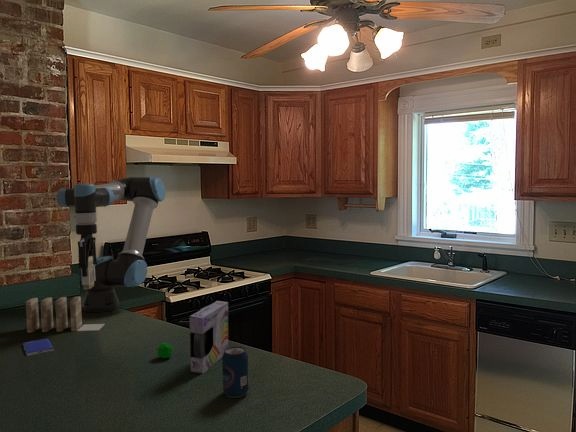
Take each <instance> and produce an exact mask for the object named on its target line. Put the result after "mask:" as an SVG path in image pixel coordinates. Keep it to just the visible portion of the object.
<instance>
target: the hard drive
mask: <svg viewBox="0 0 576 432" xmlns="http://www.w3.org/2000/svg"><path fill="white" fill-rule="evenodd" d="M51 343H52V342H51V341H50V340H49V338H43V339H37V340H31V341H26V342H23V343H22V346H24V347H23V349H24V352H25V351H26V352H25V354H26V356H27V357H28V356H33V355H39V354H44V352H45V353H49V351H50V352H54V351H55V350H54V347H53V345H52V344H51Z"/></svg>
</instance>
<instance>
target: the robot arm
mask: <svg viewBox="0 0 576 432" xmlns="http://www.w3.org/2000/svg"><path fill="white" fill-rule="evenodd" d="M165 197H166V188H165V184H164V182H163V180H162V179H161V178H160V177H157V176H140V177H138V176H135V177H134V176H131V177H130V176H129V177H125V178H120V179H115V180H114V179H113V180H111V181H109V182H108V183H102V184H94V183H76V184H74V187H72V188H71V187H70V188H68V187H66V188H60V189H59V190H58V191H57V192H56V197H55V199H56V203H57V204H58V206H60V207H64V208H71V207H73V208H74V215H73V217H74V218H75V224H76V225H75V234H76V235H80V239H79V240H78V241H77V246H78V248H77V249H78V250H77V251H78V269H80V271H81V285H82V286H84V285H90V275H89V268H88V259H89V256H93V272H94V286H93V287H92V288H90V289H86V294H85V298H84V302H83V305H82V307H83V311H84V312H86V313H87V312H88V313H104V312H110V311H113V310H116V309H118V308H119V307H120V302H119V299H118V296H117V293H116V290H115V287H127V288H131V287H139V286H140V285H142V284H143V283H144V282H145V280H146V277H147V275H148V264H147V262H146V261H145V258H144V256H143V253H144V249H145V246H146V241H147V237H148V232H149V229H150V224H151V220H152V216H153V211H154V210H155V209H157V208H158V204H159V203H160V202H162V201H164V200H165ZM117 201H127V202H132V203H133V204H134V206H133V211H132V215H131V217H130V223H129V227H128V230H127V235H126V238H125V240H124V246H123V249H122V251H121V252H119V253H118V254H117V258H116V259H114V256H113V255H106V256H98V257H97V247H96V239H97V238H96V237H95V236H94V237H93V235H95V234H97V233H98V229H97V228H98V227H97V224H96V223H97V208H101V207H104V208H105V207H110V206H111V205H112V204H114V202H117Z"/></svg>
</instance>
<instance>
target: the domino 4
mask: <svg viewBox="0 0 576 432" xmlns="http://www.w3.org/2000/svg"><path fill="white" fill-rule="evenodd" d="M69 309H70V311H69V312H70V328H71V329H70V330H71V331H72V332H78V331H77V330H79V329H80V328H81V327H82V326H83V318H82V317H83V316H82V298H81V296H74V297H72V298H71V299H69Z"/></svg>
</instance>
